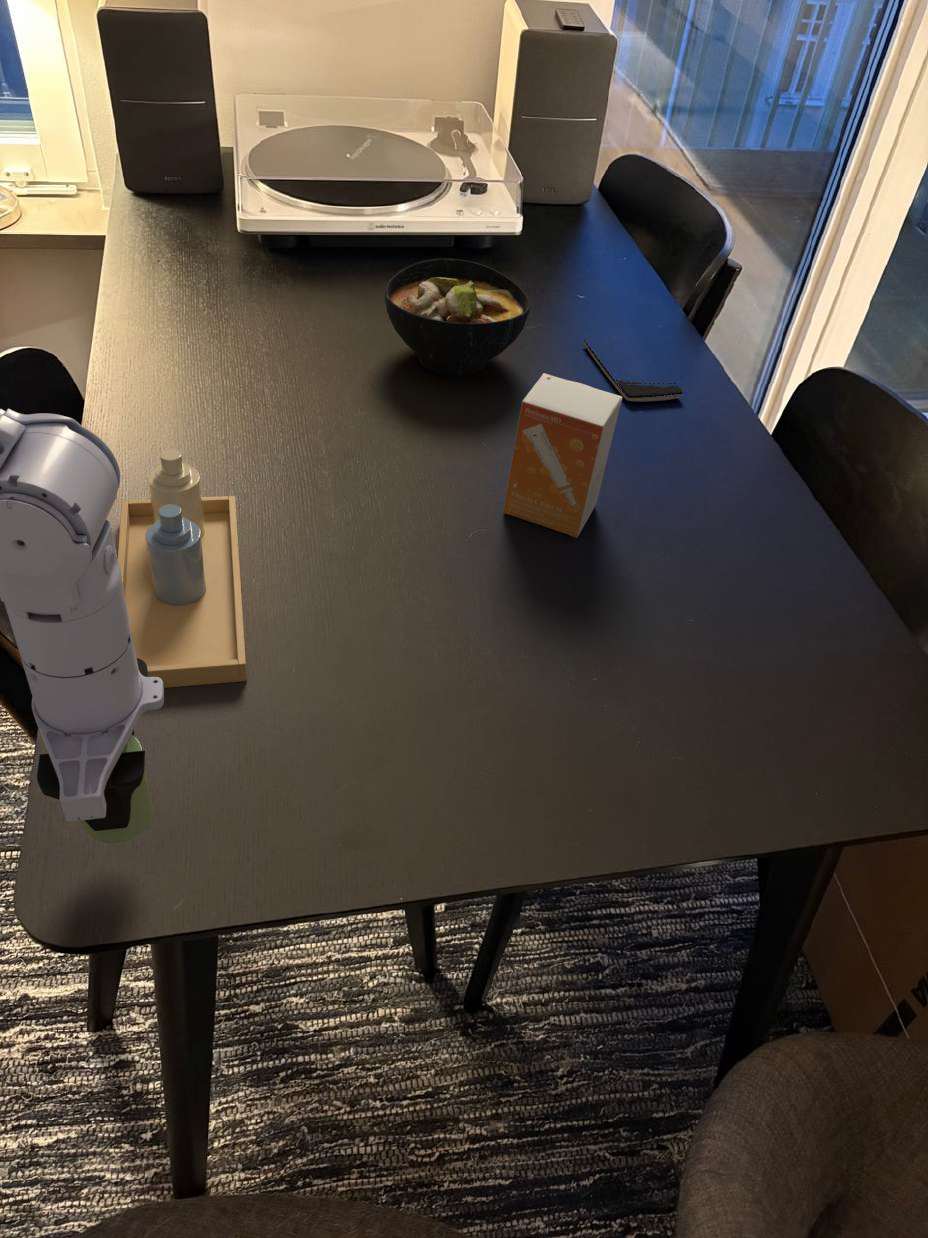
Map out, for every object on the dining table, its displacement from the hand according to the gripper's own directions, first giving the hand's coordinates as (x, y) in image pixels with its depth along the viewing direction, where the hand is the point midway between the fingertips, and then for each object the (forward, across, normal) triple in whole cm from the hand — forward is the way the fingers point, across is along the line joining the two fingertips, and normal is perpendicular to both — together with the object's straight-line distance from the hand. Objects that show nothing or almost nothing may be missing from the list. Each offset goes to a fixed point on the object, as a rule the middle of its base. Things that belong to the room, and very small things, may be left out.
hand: (112, 792), depth 61 cm
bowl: (+6, +66, -36) cm, 75 cm away
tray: (+6, +26, -4) cm, 26 cm away
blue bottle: (+6, +26, -4) cm, 26 cm away
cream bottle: (+6, +34, -4) cm, 34 cm away
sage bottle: (+2, 0, 0) cm, 2 cm away
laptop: (+6, +62, -58) cm, 84 cm away
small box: (+6, +34, -40) cm, 53 cm away
